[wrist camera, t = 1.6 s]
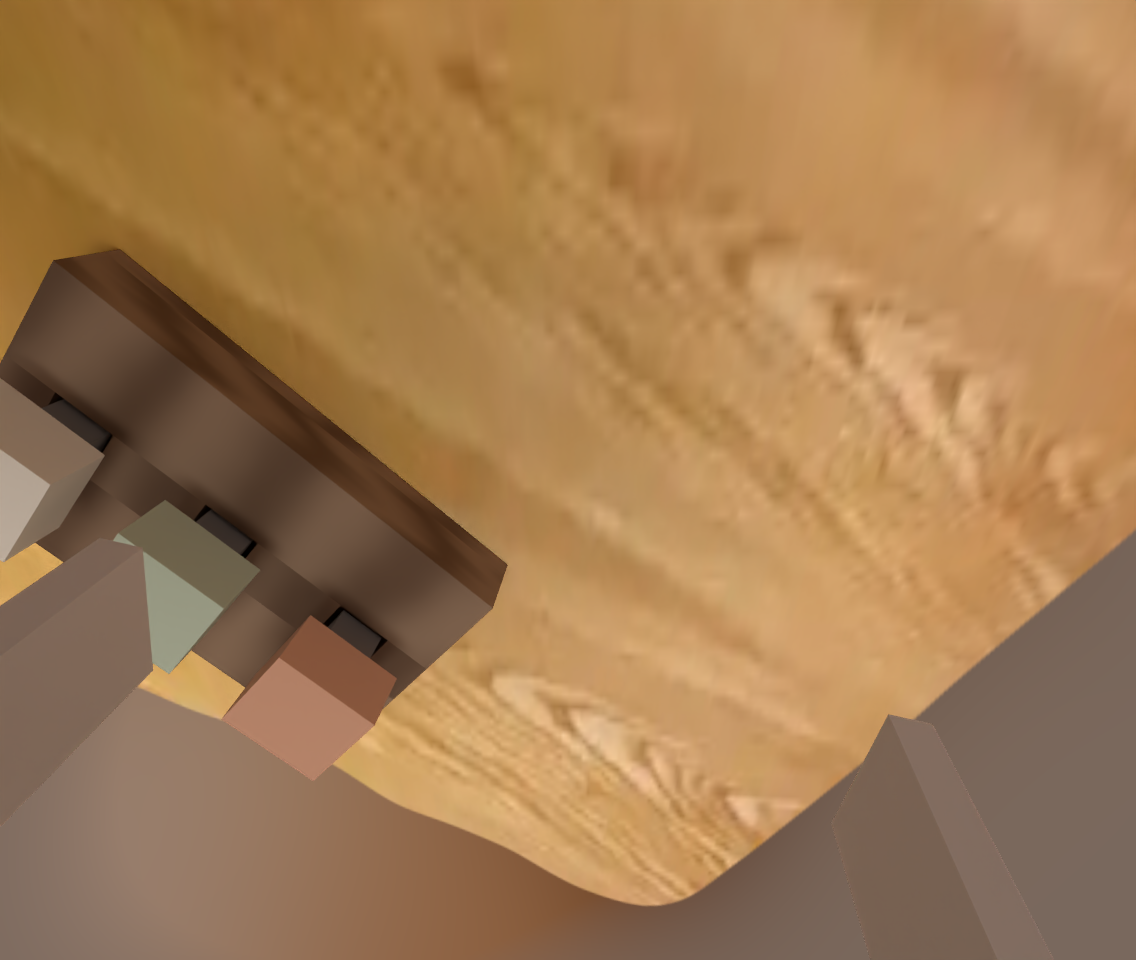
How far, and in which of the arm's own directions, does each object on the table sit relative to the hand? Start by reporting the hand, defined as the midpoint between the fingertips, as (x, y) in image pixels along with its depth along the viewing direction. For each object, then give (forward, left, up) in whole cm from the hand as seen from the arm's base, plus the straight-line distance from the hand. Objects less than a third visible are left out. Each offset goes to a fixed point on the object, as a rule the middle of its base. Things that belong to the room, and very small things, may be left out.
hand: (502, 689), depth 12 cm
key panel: (-8, -18, -22) cm, 30 cm away
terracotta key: (0, -18, -18) cm, 26 cm away
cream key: (-16, -18, -19) cm, 31 cm away
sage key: (-8, -18, -19) cm, 27 cm away
